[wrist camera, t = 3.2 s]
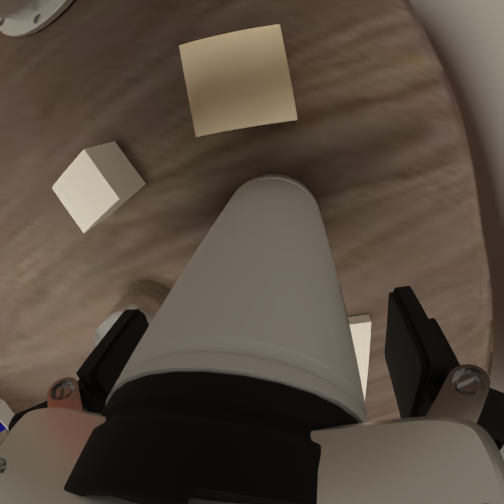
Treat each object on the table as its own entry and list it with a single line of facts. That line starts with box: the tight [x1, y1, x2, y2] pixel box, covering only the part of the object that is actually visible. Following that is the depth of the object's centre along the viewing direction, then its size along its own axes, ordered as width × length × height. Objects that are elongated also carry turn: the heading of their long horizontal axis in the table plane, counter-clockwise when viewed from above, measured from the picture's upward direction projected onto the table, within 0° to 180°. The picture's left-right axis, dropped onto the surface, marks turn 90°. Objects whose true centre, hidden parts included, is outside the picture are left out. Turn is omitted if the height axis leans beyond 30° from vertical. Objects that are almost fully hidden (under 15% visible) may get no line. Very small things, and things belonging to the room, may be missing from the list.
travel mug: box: [64, 174, 367, 504], centre depth 12 cm, size 6×7×20 cm
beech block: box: [179, 24, 298, 137], centre depth 16 cm, size 5×5×5 cm
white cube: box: [52, 141, 146, 233], centre depth 20 cm, size 4×4×4 cm
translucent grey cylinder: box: [94, 280, 170, 348], centre depth 23 cm, size 5×5×6 cm
